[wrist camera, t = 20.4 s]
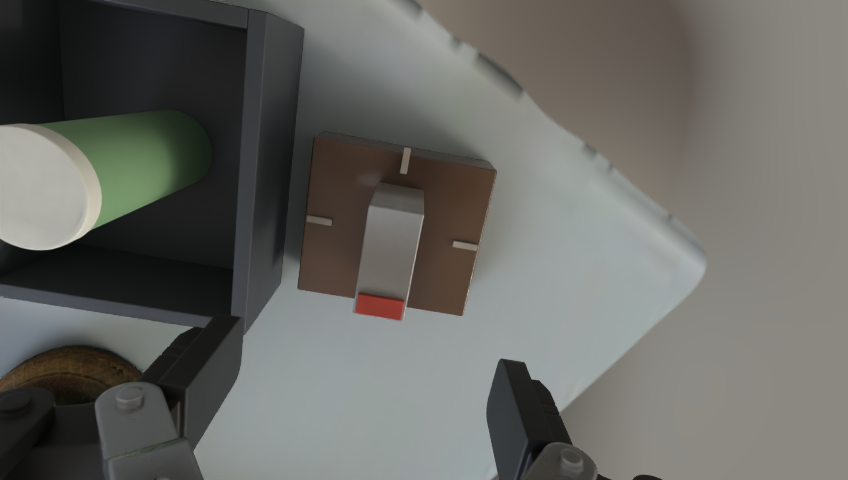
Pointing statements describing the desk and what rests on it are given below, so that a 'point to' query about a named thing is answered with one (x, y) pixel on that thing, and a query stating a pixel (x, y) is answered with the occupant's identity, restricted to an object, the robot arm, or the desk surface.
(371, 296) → the tap knob
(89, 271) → the gray open box
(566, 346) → the desk surface
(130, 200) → the green tube
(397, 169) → the panel
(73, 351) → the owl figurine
